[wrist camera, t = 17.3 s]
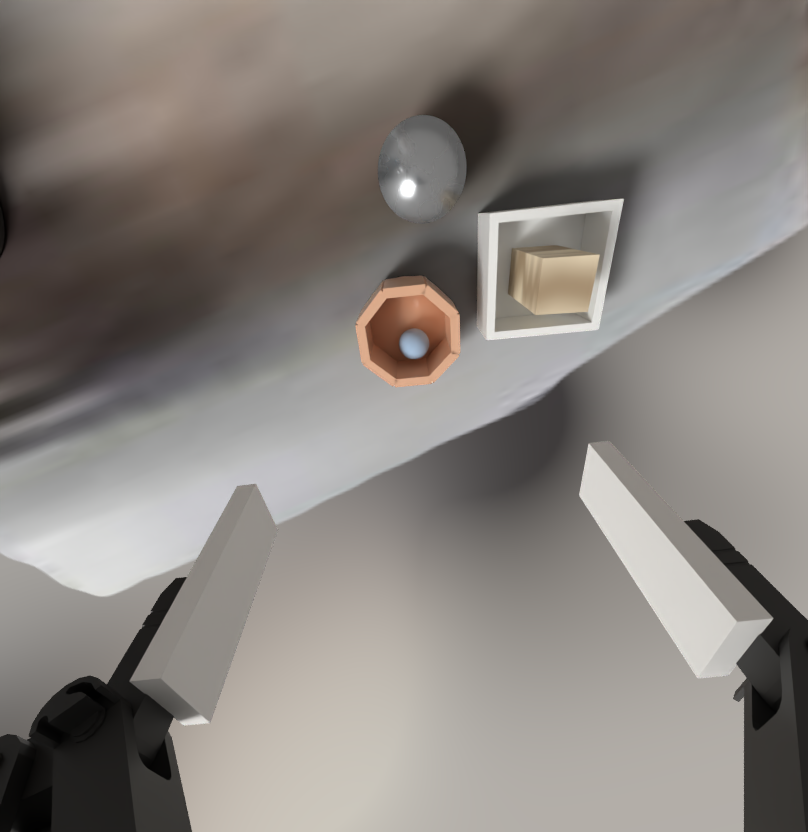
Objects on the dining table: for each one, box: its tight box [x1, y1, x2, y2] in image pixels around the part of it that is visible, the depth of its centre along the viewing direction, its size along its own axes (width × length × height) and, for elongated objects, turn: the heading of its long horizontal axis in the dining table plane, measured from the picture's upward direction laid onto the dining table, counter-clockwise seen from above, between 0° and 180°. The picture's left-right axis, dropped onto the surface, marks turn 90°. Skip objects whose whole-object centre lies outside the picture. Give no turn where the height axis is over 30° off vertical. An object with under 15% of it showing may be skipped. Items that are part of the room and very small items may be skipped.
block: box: [508, 245, 600, 315], centre depth 29 cm, size 4×4×8 cm
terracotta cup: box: [355, 275, 460, 387], centre depth 33 cm, size 9×9×6 cm
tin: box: [378, 115, 467, 223], centre depth 27 cm, size 6×6×5 cm
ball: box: [399, 328, 429, 359], centre depth 34 cm, size 3×3×3 cm
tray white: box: [477, 199, 624, 340], centre depth 31 cm, size 10×10×5 cm
